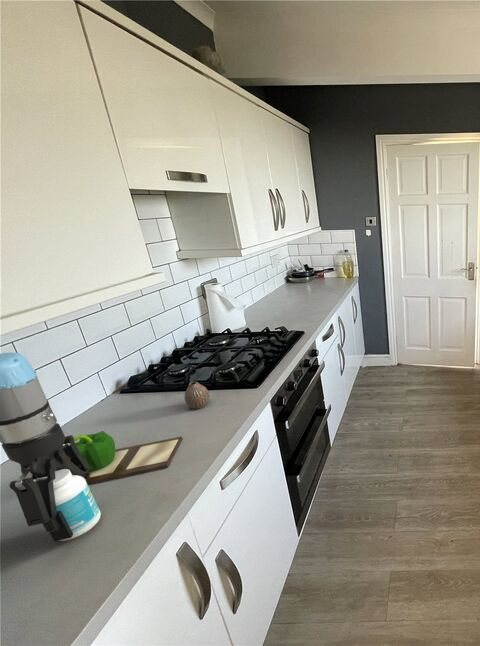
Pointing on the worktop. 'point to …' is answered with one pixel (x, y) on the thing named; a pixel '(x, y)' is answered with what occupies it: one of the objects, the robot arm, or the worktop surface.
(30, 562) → the worktop surface
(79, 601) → the worktop surface
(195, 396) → the brown rounded bulb
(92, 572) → the worktop surface
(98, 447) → the bell pepper
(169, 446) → the board
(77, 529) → the pill bottle
